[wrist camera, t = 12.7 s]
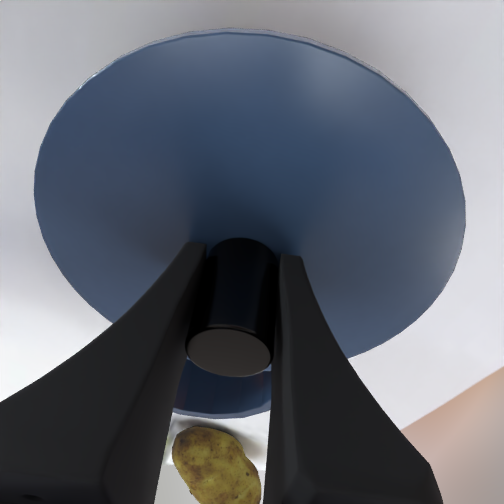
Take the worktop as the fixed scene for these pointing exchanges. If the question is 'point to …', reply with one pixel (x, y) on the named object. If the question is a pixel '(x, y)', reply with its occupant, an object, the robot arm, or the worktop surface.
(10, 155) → the worktop surface
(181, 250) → the robot arm
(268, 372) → the pot
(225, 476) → the potato
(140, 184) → the lid
